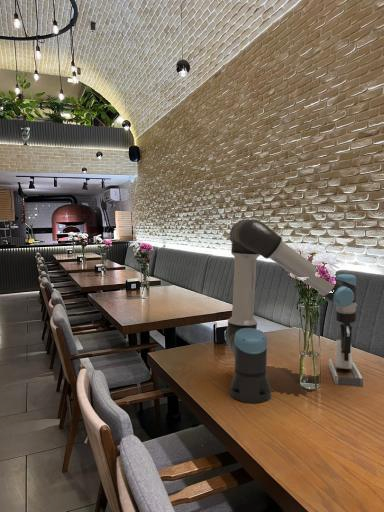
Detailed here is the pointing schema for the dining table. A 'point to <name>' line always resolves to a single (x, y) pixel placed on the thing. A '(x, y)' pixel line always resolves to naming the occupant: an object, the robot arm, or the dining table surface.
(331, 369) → the grey flat u-shaped frame
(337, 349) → the can
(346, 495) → the dining table surface
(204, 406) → the dining table surface
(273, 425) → the dining table surface
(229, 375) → the dining table surface
